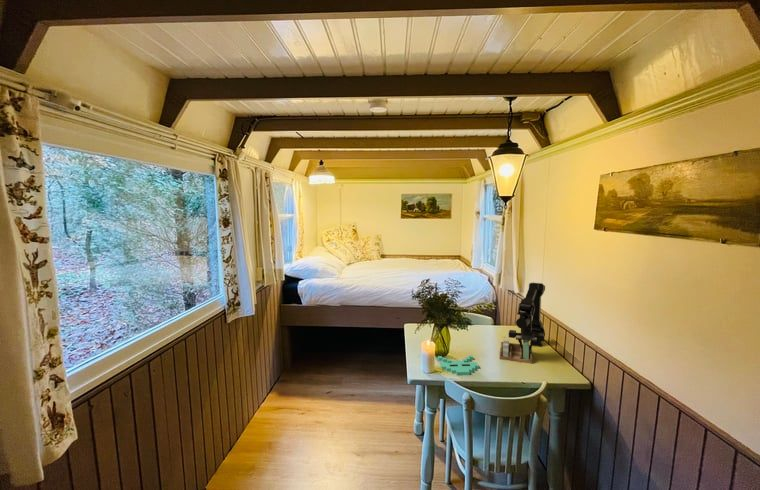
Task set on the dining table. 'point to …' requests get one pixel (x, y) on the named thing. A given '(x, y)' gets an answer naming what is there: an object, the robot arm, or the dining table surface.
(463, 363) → the alien figure
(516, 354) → the book rack
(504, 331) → the dining table surface
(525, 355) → the green book
